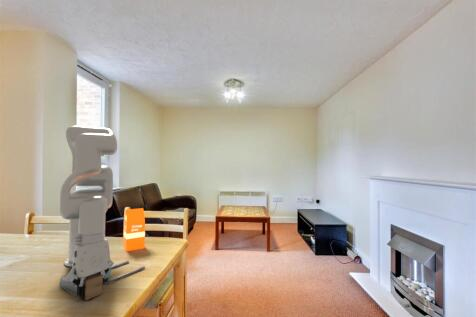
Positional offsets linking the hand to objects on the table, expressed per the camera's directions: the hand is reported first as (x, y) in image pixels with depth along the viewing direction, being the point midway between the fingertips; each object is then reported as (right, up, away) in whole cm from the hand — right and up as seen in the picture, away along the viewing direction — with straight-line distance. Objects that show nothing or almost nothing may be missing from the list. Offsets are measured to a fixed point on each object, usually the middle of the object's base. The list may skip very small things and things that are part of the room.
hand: (90, 292), depth 81 cm
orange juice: (-6, -3, +47) cm, 48 cm away
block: (0, -1, 0) cm, 1 cm away
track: (-2, -2, +14) cm, 14 cm away
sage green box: (-6, -1, +9) cm, 10 cm away
